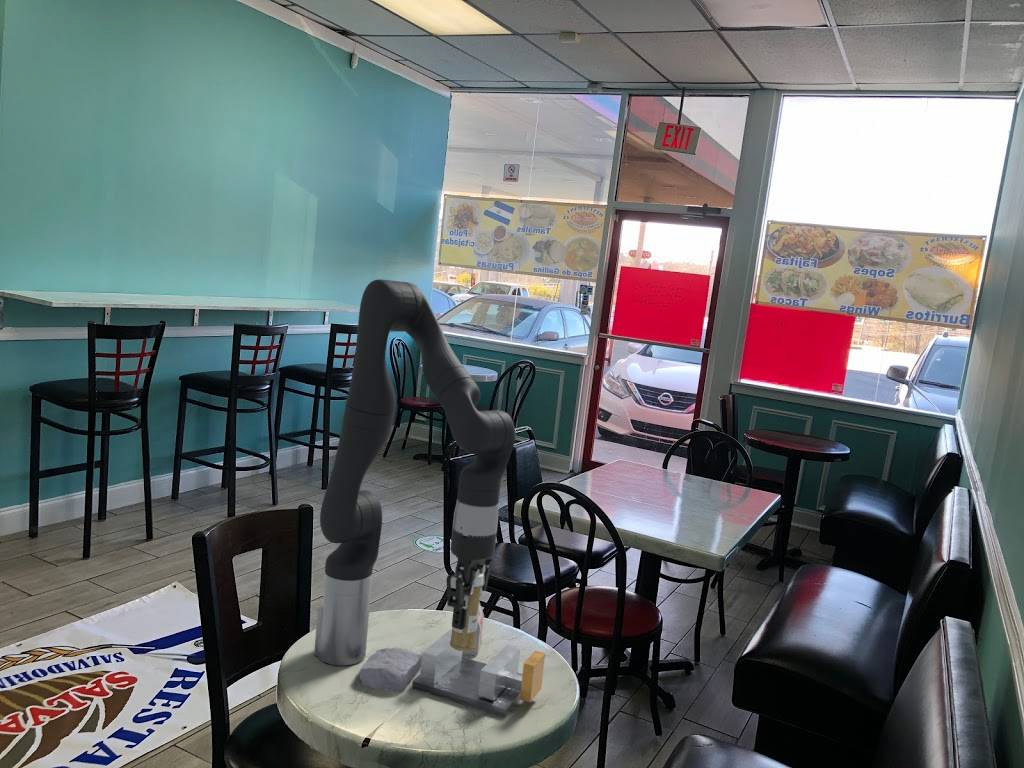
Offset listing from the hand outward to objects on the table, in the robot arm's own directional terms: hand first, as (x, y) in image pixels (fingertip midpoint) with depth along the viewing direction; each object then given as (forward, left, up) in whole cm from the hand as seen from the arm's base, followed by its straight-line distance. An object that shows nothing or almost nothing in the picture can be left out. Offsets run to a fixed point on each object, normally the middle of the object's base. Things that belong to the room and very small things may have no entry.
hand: (464, 622), depth 140 cm
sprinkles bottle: (0, 0, -5) cm, 5 cm away
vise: (-3, +13, -18) cm, 22 cm away
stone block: (-18, +8, -19) cm, 27 cm away
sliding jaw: (+6, +13, -16) cm, 22 cm away
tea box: (-10, +28, -18) cm, 35 cm away
